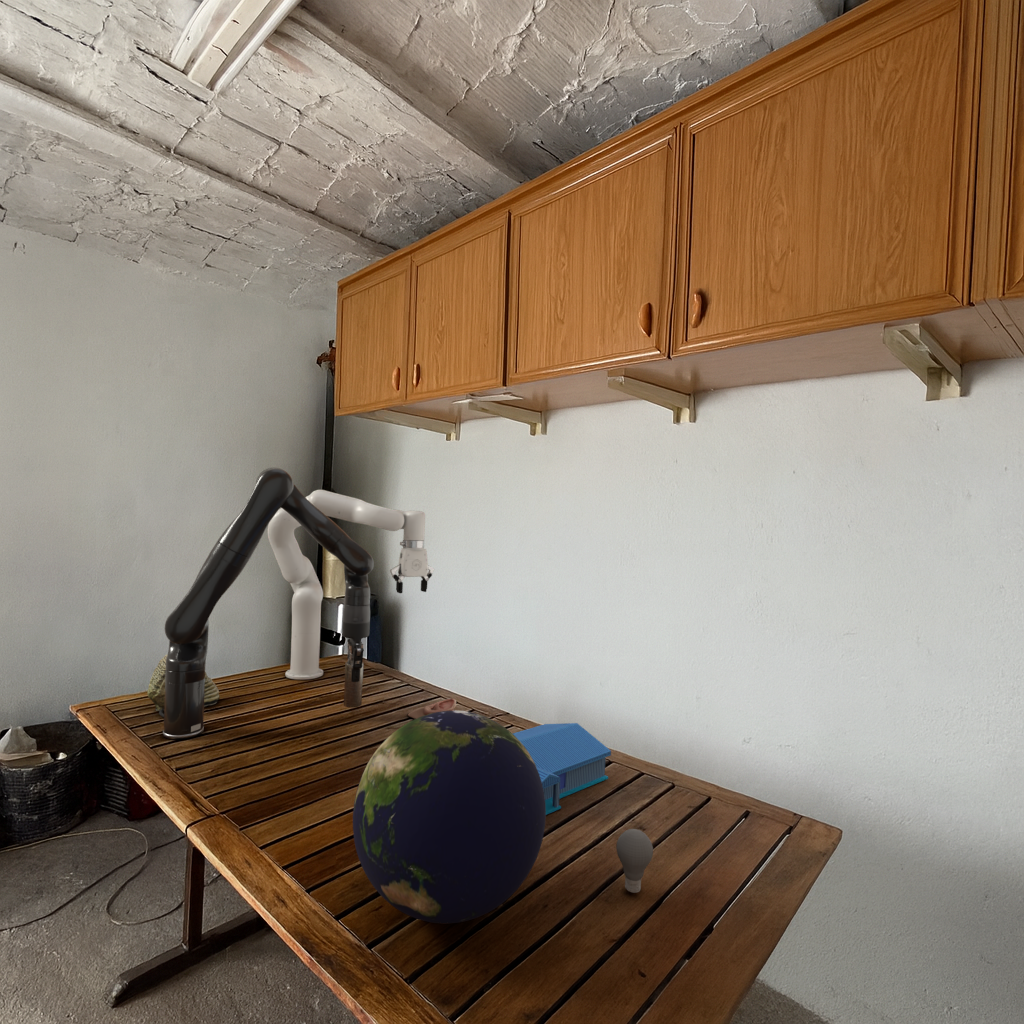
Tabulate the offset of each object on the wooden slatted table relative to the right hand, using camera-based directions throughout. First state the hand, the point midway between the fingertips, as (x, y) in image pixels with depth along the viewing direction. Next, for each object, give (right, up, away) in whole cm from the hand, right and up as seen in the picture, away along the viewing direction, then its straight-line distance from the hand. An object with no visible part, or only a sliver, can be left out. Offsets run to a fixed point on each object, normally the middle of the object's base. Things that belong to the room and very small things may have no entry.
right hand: (411, 592), depth 229 cm
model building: (+38, -33, -87) cm, 101 cm away
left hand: (-9, -19, -48) cm, 52 cm away
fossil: (-60, -28, -44) cm, 79 cm away
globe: (+26, -33, -129) cm, 136 cm away
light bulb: (+56, -34, -123) cm, 140 cm away
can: (-9, -26, -48) cm, 55 cm away
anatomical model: (+13, -31, -42) cm, 54 cm away
